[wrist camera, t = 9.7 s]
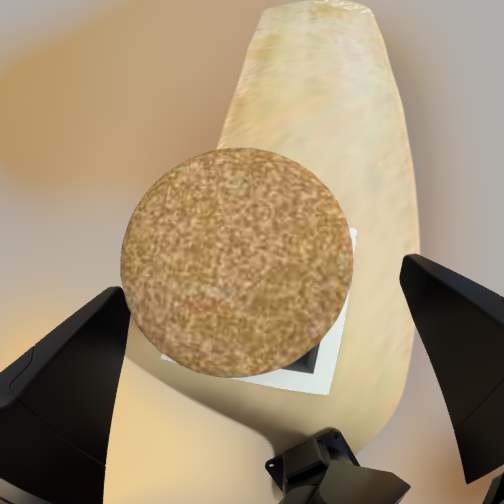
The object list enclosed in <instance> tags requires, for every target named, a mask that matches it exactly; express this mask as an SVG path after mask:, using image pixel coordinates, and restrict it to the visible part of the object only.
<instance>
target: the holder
mask: <svg viewBox="0 0 504 504" xmlns="http://www.w3.org/2000/svg"><path fill="white" fill-rule="evenodd" d="M349 231H350V235H351V239H352V246H353V260H354V251H355V242H356V232H357V229H353V228H349ZM349 290H350V289H349ZM348 296H349V292H348V295H347V298H346V301H345V304H344V306H343V308H342V310H341V313H340V315H339V317H338V319H337V320H336V322H335V323H334V324H333V326H332V327H331V329H330V330H329V331H328V332H327V334H326V335H325V336H324V337H323V339H322V340H321V341H320V342H319V343H318V344H317V345H315V346H314V347H313V348H312V349H311V350H310V351H308V352H307V353H306V354H305V355H303V356H302V357H300V358H299V359H297V360H296V361H294V362H293V363H291V364H289V365H287V366H285V367H283V368H281V369H278V370H275V371H272V372H269V373H265V374H261V375H256V376H250V377H244V378H232V379H236V380H241V381H245V382H250V383H255V384H260V385H265V386H270V387H275V388H281V389H287V390H293V391H300V392H306V393H314V394H321V395H328V394H329V390H330V386H331V382H332V378H333V374H334V369H335V365H336V360H337V356H338V351H339V346H340V341H341V336H342V331H343V326H344V320H345V315H346V309H347V303H348ZM161 359H164V360H167V361H170V362H173V363H176V362H175V361H173V360H172V359H170V358H169V357H168V356H166V355H165V354H163V353H162V356H161ZM177 364H178V363H177Z"/></svg>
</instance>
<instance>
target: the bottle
mask: <svg viewBox="0 0 504 504" xmlns="http://www.w3.org/2000/svg"><path fill="white" fill-rule="evenodd" d="M352 273H353V246H352V239H351V235H350V231H349V227H348V224H347V221H346V218H345V216H344V214H343V212H342V210H341V208H340V206H339V204H338V202H337V200H336V199H335V197H334V196H333V195H332V193H331V192H330V190H329V189H328V188H327V187H326V186H325V185H324V184H323V183H322V182H321V181H320V180H319V179H318V178H317V177H316V176H315V175H314V174H313V173H312V172H310V171H309V170H307V169H306V168H304V167H303V166H301V165H300V164H299V163H297V162H295V161H293V160H291V159H288V158H286V157H284V156H281V155H279V154H276V153H273V152H268V151H264V150H259V149H254V148H228V149H219V150H215V151H210V152H207V153H204V154H201V155H198V156H196V157H193V158H190V159H188V160H186V161H185V162H183V163H182V164H180V165H178V166H177V167H175V168H173V169H172V170H170V171H169V172H167V173H166V174H165V175H163V176H162V177H161V178H160V179H159V180H158V181H157V182H156V183H155V184H154V185H153V186H152V187H151V188H150V189H149V190H148V192H147V193H146V194H145V195H144V197H143V198H142V200H141V201H140V203H139V204H138V206H137V207H136V209H135V211H134V213H133V215H132V217H131V219H130V221H129V224H128V227H127V230H126V233H125V237H124V240H123V244H122V253H121V279H122V285H123V289H124V294H125V298H126V302H127V305H128V307H129V310H130V312H131V314H132V316H133V318H134V320H135V322H136V324H137V325H138V327H139V328H140V330H141V331H142V332H143V334H144V335H145V336H146V337H147V339H148V340H149V341H150V342H151V343H152V344H153V345H154V346H155V347H156V348H158V349H159V350H160V351H161V352H162V353H163V354H165V355H166V356H168V357H169V358H170V359H172V360H173V361H175V362H176V363H178V364H179V365H182V366H184V367H186V368H189V369H191V370H193V371H196V372H198V373H202V374H207V375H211V376H216V377H224V378H244V377H250V376H256V375H261V374H265V373H269V372H272V371H275V370H278V369H281V368H283V367H285V366H287V365H289V364H291V363H293V362H294V361H296V360H297V359H299V358H300V357H302V356H303V355H305V354H306V353H307V352H308V351H310V350H311V349H312V348H313V347H314V346H315V345H317V344H318V343H319V342H320V341H321V340H322V339H323V337H324V336H325V335H326V334H327V332H328V331H329V330H330V329H331V327H332V326H333V324H334V323H335V322H336V320H337V319H338V317H339V315H340V313H341V310H342V308H343V306H344V304H345V301H346V298H347V295H348V292H349V289H350V286H351V281H352Z"/></svg>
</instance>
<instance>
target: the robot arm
mask: <svg viewBox="0 0 504 504" xmlns="http://www.w3.org/2000/svg"><path fill="white" fill-rule="evenodd" d="M399 280H400V285H401V287H402V290H403V293H404V295H405V298H406V301H407V304H408V307H409V310H410V312H411V315H412V318H413V321H414V323H415V326H416V328H417V330H418V332H419V335H420V337H421V339H422V342H423V344H424V346H425V349H426V351H427V354H428V356H429V359H430V361H431V364H432V366H433V369H434V372H435V374H436V377H437V380H438V382H439V385H440V388H441V391H442V394H443V396H444V399H445V403H446V406H447V409H448V412H449V415H450V419H451V422H452V425H453V429H454V430H455V431H454V433H455V437H456V440H457V444H458V448H459V452H460V457H461V461H462V466H463V470H464V475H465V480H466V483H467V484H469V483H471V482H473V481H475V480H477V479H479V478H481V477H483V476H485V475H486V474H488V473H490V472H492V471H493V470H495V469H497V468H498V467H500V466H502V465H503V464H504V297H502V296H500V295H499V294H497V293H495V292H493V291H491V290H489V289H487V288H485V287H484V286H482V285H480V284H478V283H476V282H474V281H472V280H470V279H468V278H466V277H464V276H462V275H460V274H458V273H456V272H454V271H452V270H450V269H448V268H446V267H444V266H442V265H440V264H438V263H435V262H433V261H431V260H429V259H427V258H425V257H423V256H420V255H418V254H408V255H405V256H404V258H403V262H402V267H401V272H400V277H399ZM130 315H131V312H130V310H129V307H128V305H127V302H126V298H125V294H124V291H123V289H122V288H121V287H119V286H117V287H109V288H107V289H106V290H104V291H103V292H102V293H100V294H99V295H98V296H96V297H95V298H94V299H92V300H91V301H90V302H88V303H87V304H86V305H84V306H83V307H82V308H81V309H79V310H78V311H77V312H75V313H74V314H73V315H72V316H70V317H69V318H67V319H66V320H65V321H64V322H62V323H61V324H60V325H59V326H57V327H56V328H55V329H54V330H52V331H51V332H50V333H49V334H47V335H46V336H45V337H44V338H43V339H41V340H40V341H39V342H38V343H36V344H35V346H33V347H31V348H30V349H29V350H28V351H27V352H25V353H24V355H22V356H21V357H19V358H18V359H17V360H16V361H14V362H13V363H12V364H11V365H9V366H8V367H7V368H6V369H4V370H3V371H2V372H0V504H103V494H104V493H103V492H104V480H105V468H106V467H105V465H106V458H107V449H108V442H109V434H110V428H111V421H112V415H113V409H114V404H115V398H116V393H117V388H118V382H119V378H120V373H121V368H122V364H123V360H124V355H125V350H126V343H127V336H128V329H129V322H130ZM334 434H338V435H337V437H332V436H333V435H334ZM270 464H274V466H273V467H270V466H269V465H270ZM265 468H266V470H267V471H268V472H269V474H270V475H271V477H272V478H273V479H274V481H275V482H276V483H277V485H278V486H279V487H280V489H281V490H282V491H283V499H282V500H281V501H280V503H279V504H398V503H399V502H400V501H401V499H402V498H403V497H404V496H405V494H406V493H407V492H408V490H409V489H410V487H411V486H410V485H409V484H407V483H406V482H404V481H403V480H402V479H400V478H399V477H398V476H396V475H395V474H393V473H391V472H386V471H380V470H375V469H370V468H365V467H361V466H360V465H359V463H358V461H357V460H356V458H355V456H354V454H353V453H352V451H351V449H350V447H349V446H348V444H347V442H346V441H345V439H344V437H343V435H342V434H341V432H340V431H339V430H337V429H334V430H332V431H330V432H328V433H326V434H324V435H322V436H320V437H318V438H317V439H310V440H308V441H306V442H304V443H302V444H300V445H298V446H296V447H293V448H291V449H289V450H287V451H285V452H284V453H283V454H282V455H280V456H278V457H275V458H273V459H270V460H268V461H267V462H266V464H265ZM483 504H504V472H502V473H501V474H499V475H498V476H497V477H495V478H494V479H493V480H492V483H491V485H490V488H489V490H488V492H487V495H486V497H485V499H484V501H483Z"/></svg>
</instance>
